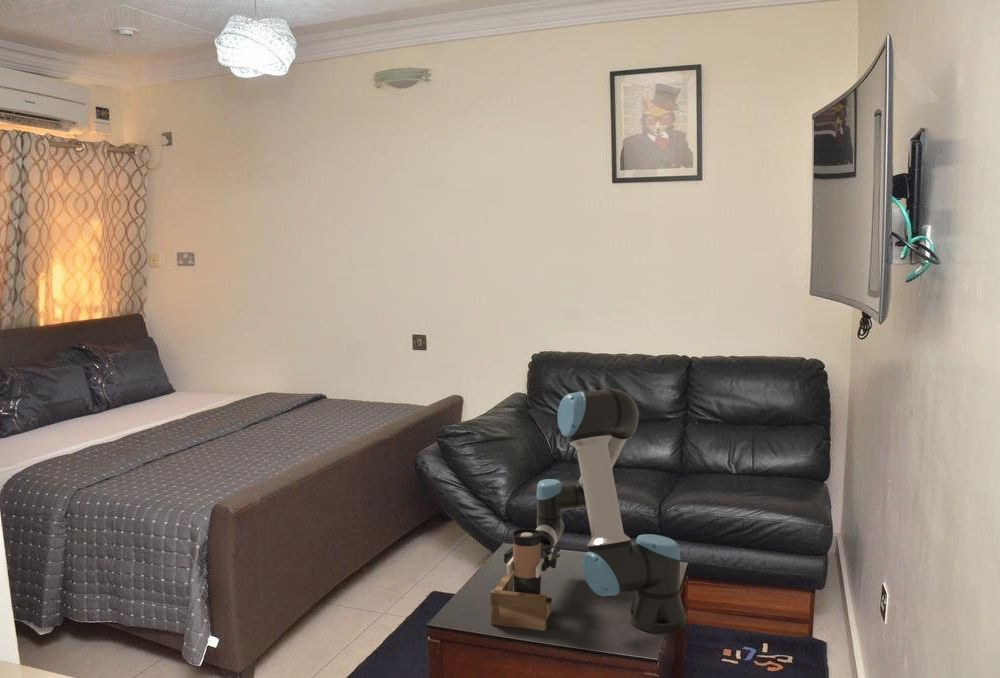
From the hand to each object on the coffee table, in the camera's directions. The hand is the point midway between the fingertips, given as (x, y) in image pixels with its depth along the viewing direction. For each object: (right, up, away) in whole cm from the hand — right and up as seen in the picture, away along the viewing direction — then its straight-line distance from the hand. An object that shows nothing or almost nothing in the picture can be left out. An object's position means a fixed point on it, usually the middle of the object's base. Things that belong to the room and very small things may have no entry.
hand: (522, 571), depth 224 cm
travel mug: (+1, -11, +6) cm, 12 cm away
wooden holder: (+2, -14, +6) cm, 16 cm away
